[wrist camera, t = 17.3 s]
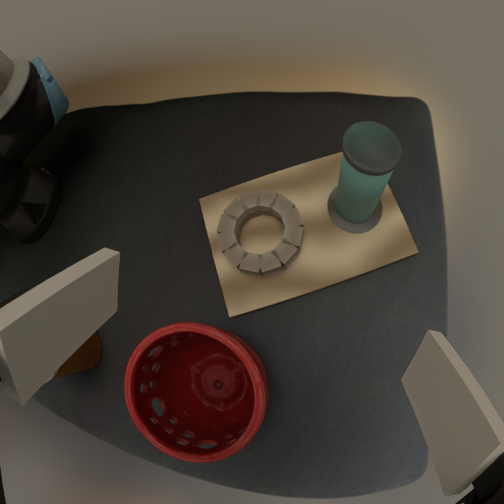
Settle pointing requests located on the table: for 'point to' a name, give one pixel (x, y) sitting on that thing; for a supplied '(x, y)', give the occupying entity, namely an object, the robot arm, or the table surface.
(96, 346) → the disposable coffee cup
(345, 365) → the table surface
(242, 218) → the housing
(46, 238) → the table surface
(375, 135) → the teal cylindrical container
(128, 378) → the plant pot
